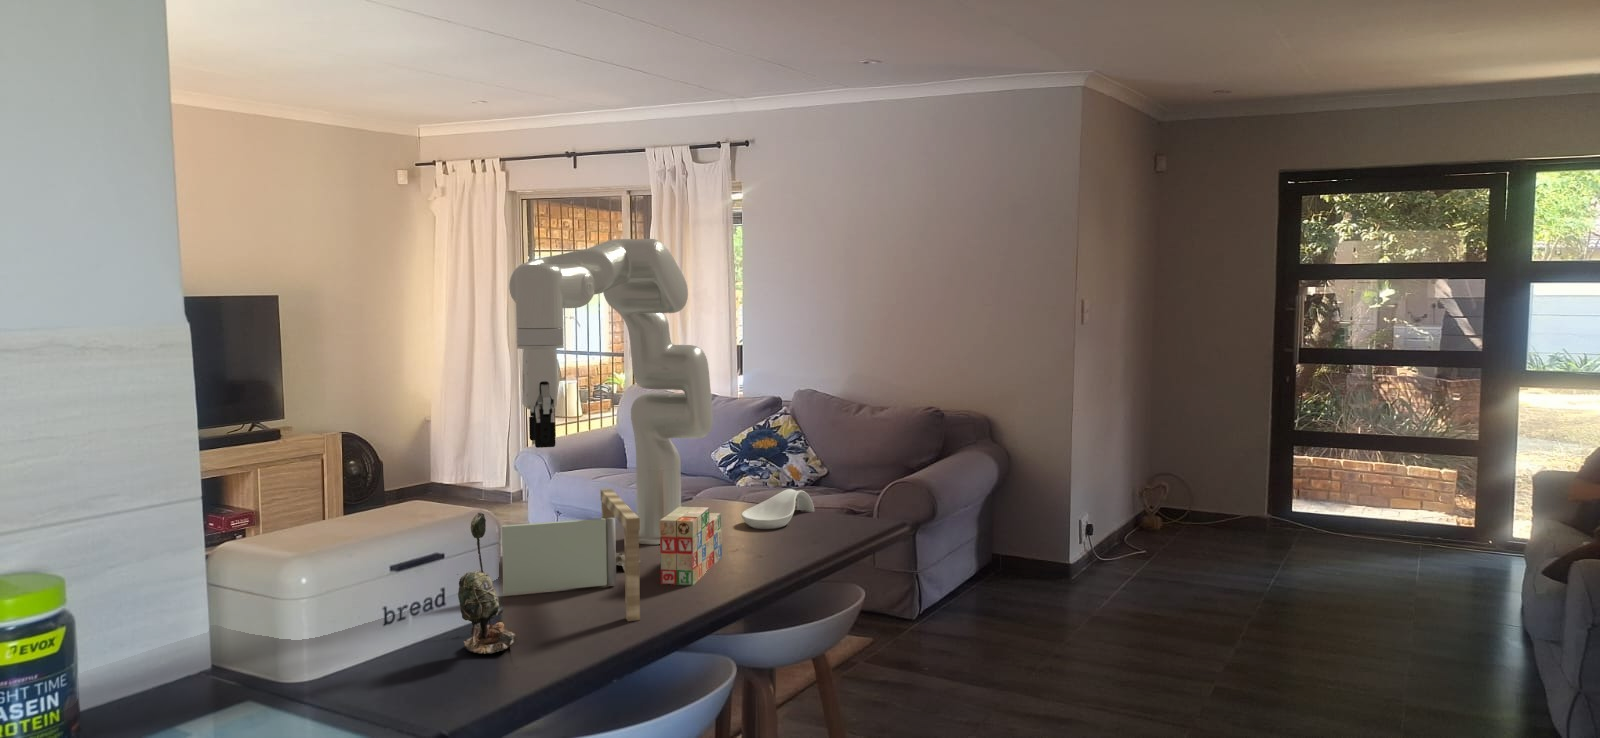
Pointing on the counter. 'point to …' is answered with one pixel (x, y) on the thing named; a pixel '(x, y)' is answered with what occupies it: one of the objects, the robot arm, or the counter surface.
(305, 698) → the counter surface
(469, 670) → the counter surface
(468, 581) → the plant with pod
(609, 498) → the door frame
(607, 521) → the door
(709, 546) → the stack of blocks
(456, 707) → the counter surface
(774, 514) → the spoon rest
